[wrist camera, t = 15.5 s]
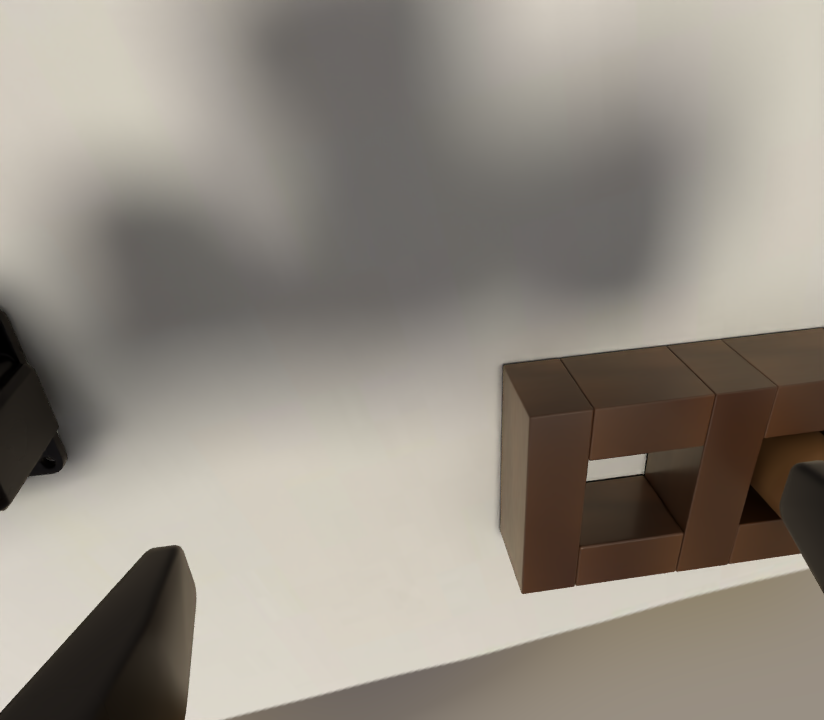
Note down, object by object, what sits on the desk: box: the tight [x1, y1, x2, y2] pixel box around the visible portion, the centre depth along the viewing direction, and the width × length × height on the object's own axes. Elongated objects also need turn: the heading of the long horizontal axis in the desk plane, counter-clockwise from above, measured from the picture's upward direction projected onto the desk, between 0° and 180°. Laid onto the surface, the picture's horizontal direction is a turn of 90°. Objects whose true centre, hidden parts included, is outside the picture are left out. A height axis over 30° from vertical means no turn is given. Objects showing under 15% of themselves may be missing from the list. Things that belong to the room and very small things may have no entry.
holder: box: [500, 328, 824, 594], centre depth 24 cm, size 15×9×4 cm, turn 94°
